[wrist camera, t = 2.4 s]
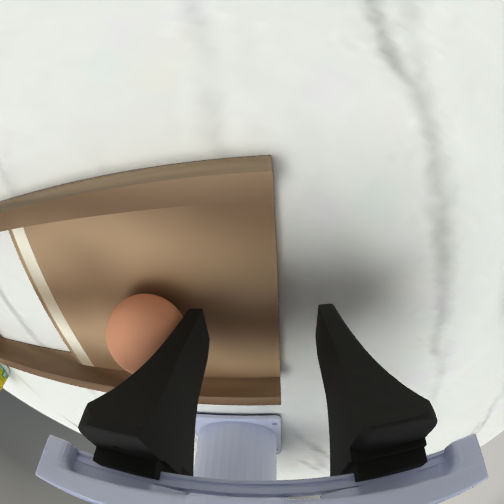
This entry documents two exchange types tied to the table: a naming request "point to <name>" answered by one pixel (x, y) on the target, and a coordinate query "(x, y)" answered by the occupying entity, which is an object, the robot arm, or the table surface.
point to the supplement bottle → (3, 374)
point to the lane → (155, 269)
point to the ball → (139, 329)
